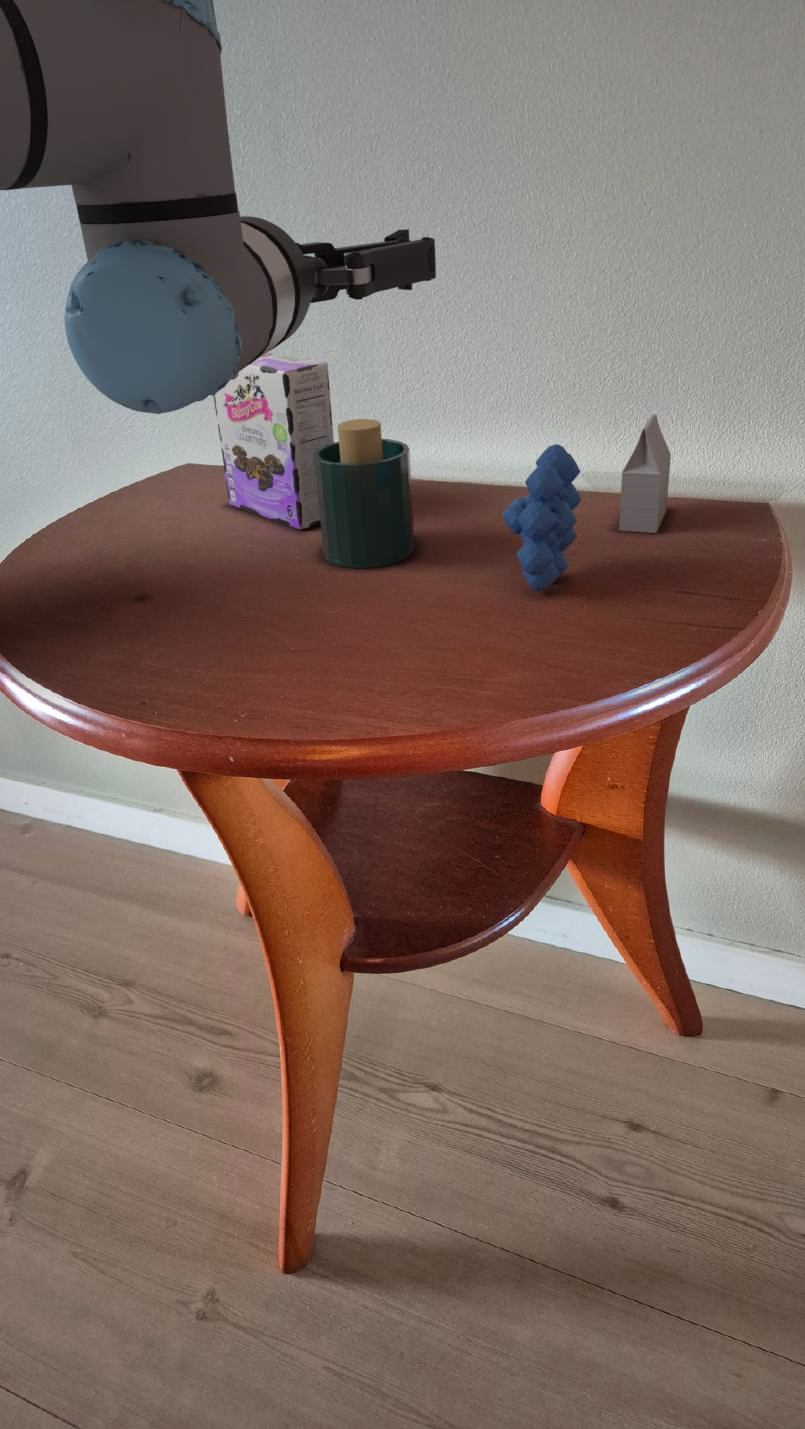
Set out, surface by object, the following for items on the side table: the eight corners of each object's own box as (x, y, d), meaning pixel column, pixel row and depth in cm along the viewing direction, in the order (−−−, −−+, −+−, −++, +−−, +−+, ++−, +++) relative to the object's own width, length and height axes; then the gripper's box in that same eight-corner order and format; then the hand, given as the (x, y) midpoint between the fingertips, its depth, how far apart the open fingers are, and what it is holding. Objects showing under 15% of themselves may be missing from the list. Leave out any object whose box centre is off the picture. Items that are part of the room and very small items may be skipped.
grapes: (522, 554, 95) (522, 428, 89) (591, 561, 93) (596, 432, 87) (481, 601, 86) (479, 465, 80) (557, 610, 84) (560, 470, 78)
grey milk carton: (666, 511, 103) (674, 414, 98) (656, 533, 98) (664, 431, 93) (630, 508, 105) (636, 412, 100) (618, 530, 99) (624, 430, 94)
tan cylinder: (344, 553, 97) (333, 430, 90) (352, 539, 100) (342, 419, 94) (384, 554, 96) (376, 429, 90) (391, 539, 99) (383, 418, 93)
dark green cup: (314, 568, 95) (303, 465, 90) (334, 535, 103) (325, 438, 98) (406, 568, 94) (400, 464, 89) (420, 535, 101) (415, 437, 96)
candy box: (226, 505, 113) (204, 355, 105) (268, 493, 117) (250, 346, 108) (300, 531, 104) (282, 369, 96) (343, 517, 107) (329, 359, 99)
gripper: (51, 364, 62) (171, 311, 80) (449, 353, 58) (480, 300, 76) (22, 231, 58) (154, 207, 76) (444, 209, 54) (478, 189, 72)
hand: (317, 253), depth 76 cm, fingers open, 13 cm apart
